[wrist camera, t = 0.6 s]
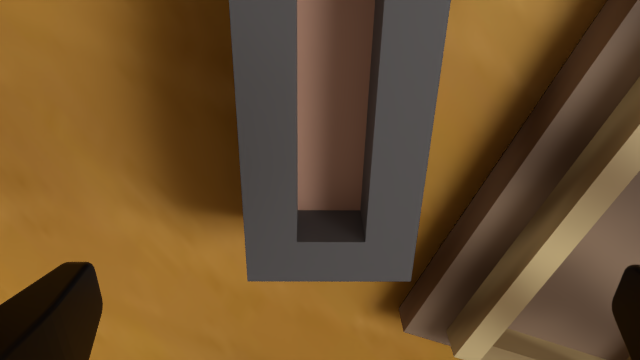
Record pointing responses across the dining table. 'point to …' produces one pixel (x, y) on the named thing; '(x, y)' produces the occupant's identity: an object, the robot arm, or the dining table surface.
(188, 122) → the dining table surface
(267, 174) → the dark gray frame
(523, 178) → the walnut board
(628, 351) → the robot arm
